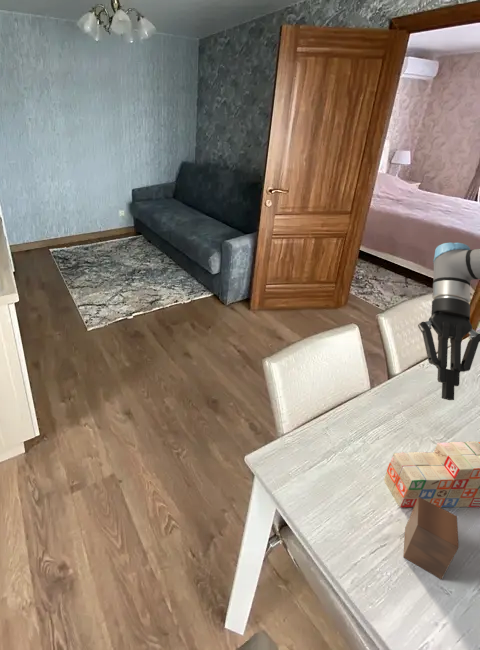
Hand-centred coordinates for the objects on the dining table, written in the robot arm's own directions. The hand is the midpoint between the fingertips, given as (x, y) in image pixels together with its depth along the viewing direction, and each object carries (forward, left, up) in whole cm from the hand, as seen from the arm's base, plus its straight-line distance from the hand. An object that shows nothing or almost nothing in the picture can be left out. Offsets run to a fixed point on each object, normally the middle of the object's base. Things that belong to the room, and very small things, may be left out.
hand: (447, 398), depth 79 cm
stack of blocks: (-2, +10, -18) cm, 21 cm away
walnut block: (0, +25, -18) cm, 31 cm away
